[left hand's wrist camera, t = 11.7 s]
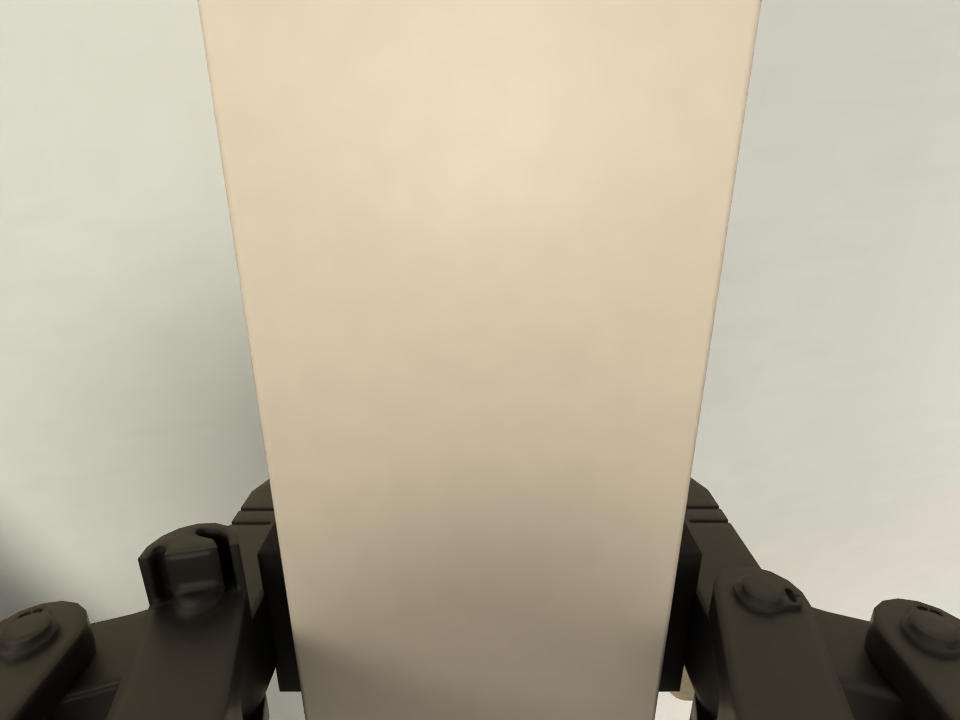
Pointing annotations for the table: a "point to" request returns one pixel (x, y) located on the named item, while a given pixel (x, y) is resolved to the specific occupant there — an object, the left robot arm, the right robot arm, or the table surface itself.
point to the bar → (479, 331)
